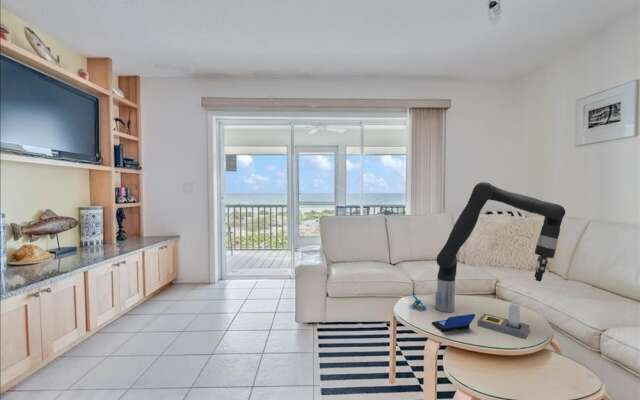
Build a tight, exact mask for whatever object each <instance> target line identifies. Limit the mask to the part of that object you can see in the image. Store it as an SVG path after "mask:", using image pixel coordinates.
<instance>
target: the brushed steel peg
mask: <svg viewBox="0 0 640 400" xmlns="http://www.w3.org/2000/svg"><path fill="white" fill-rule="evenodd" d="M508 320H509V323H508V326H509V327H513V328H516V329H520V323H521V305H517V304H512V303H510V304H509V306H508Z"/></svg>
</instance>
